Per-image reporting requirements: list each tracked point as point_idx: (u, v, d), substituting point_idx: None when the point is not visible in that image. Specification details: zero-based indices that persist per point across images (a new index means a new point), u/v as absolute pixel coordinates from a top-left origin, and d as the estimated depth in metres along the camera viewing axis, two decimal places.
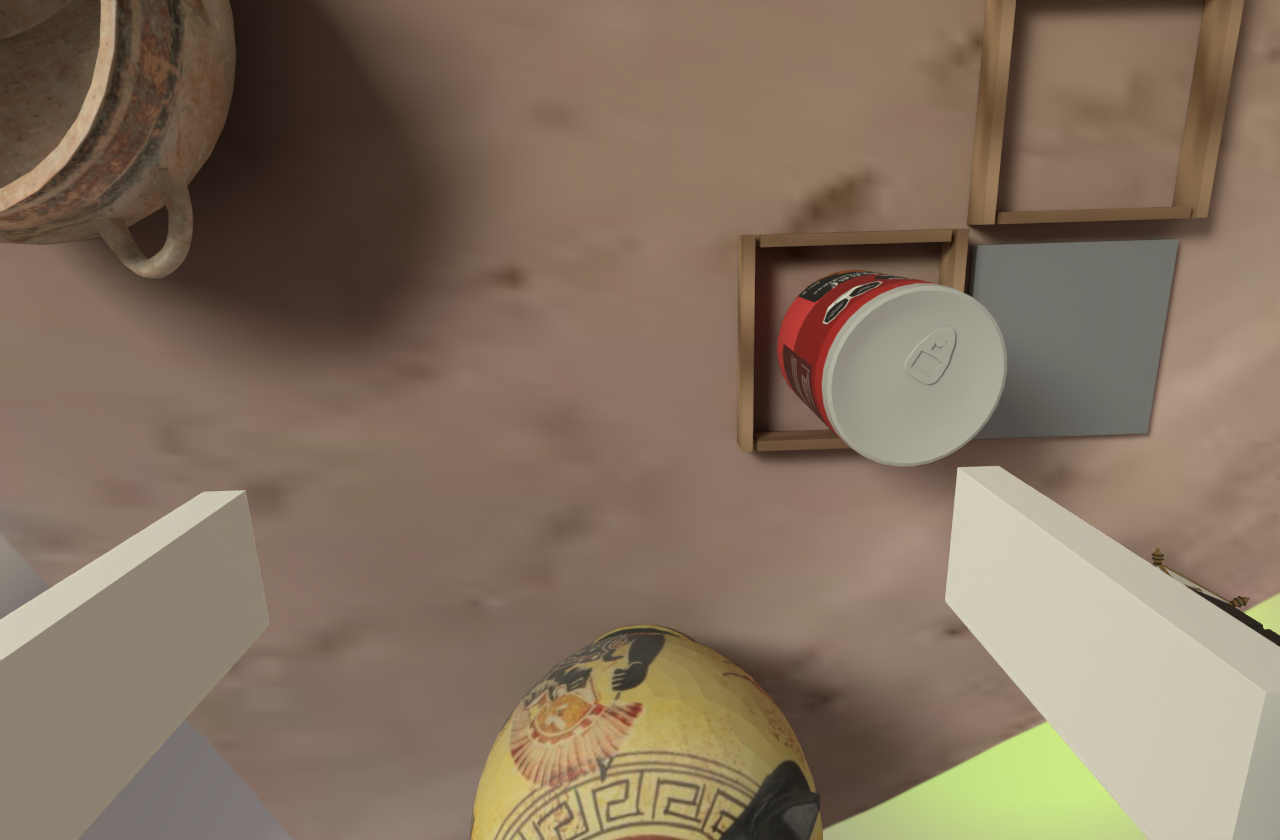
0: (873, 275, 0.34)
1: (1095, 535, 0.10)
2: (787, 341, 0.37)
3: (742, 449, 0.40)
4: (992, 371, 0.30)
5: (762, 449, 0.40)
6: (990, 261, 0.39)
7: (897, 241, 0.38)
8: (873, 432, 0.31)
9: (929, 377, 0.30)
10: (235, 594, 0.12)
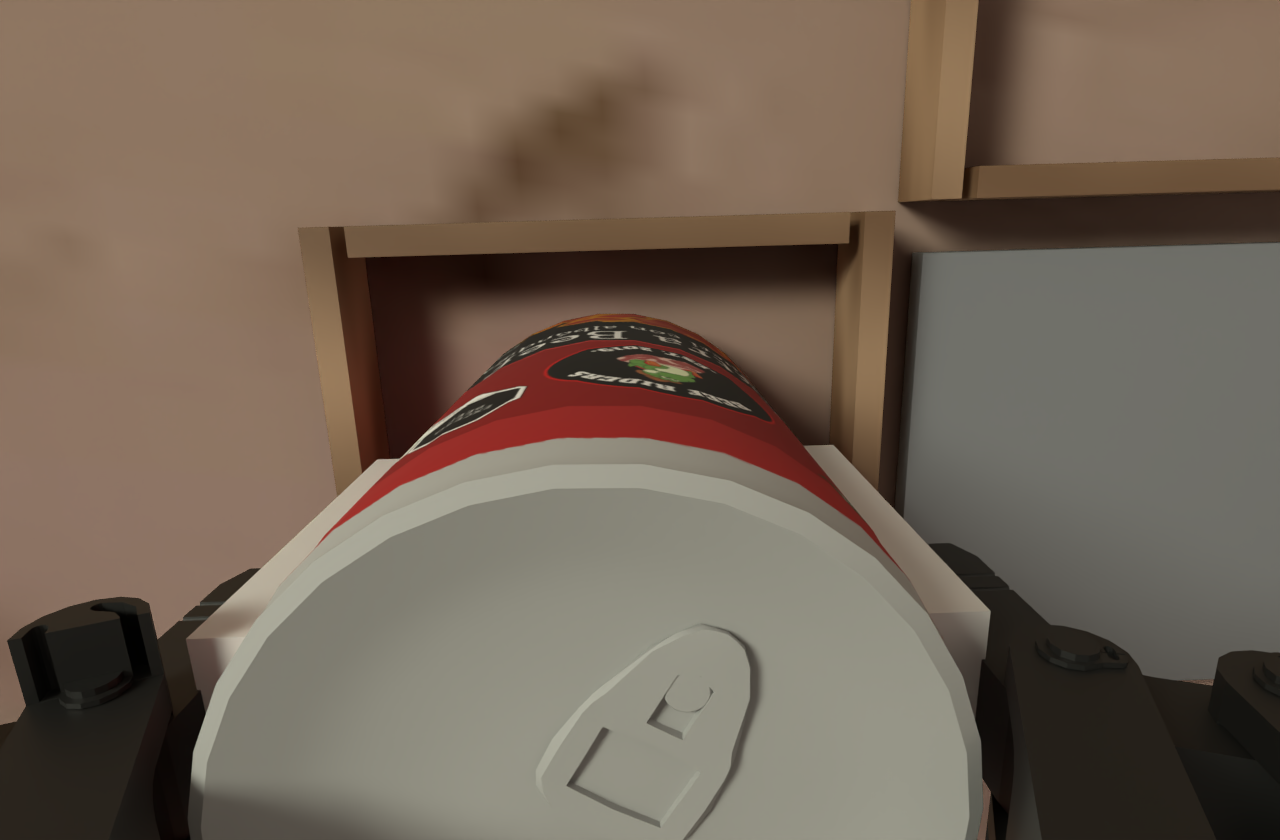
0: (582, 347, 0.11)
1: (876, 500, 0.12)
2: None
3: None
4: (920, 809, 0.07)
5: None
6: (954, 293, 0.16)
7: (707, 243, 0.14)
8: None
9: (651, 824, 0.07)
10: None
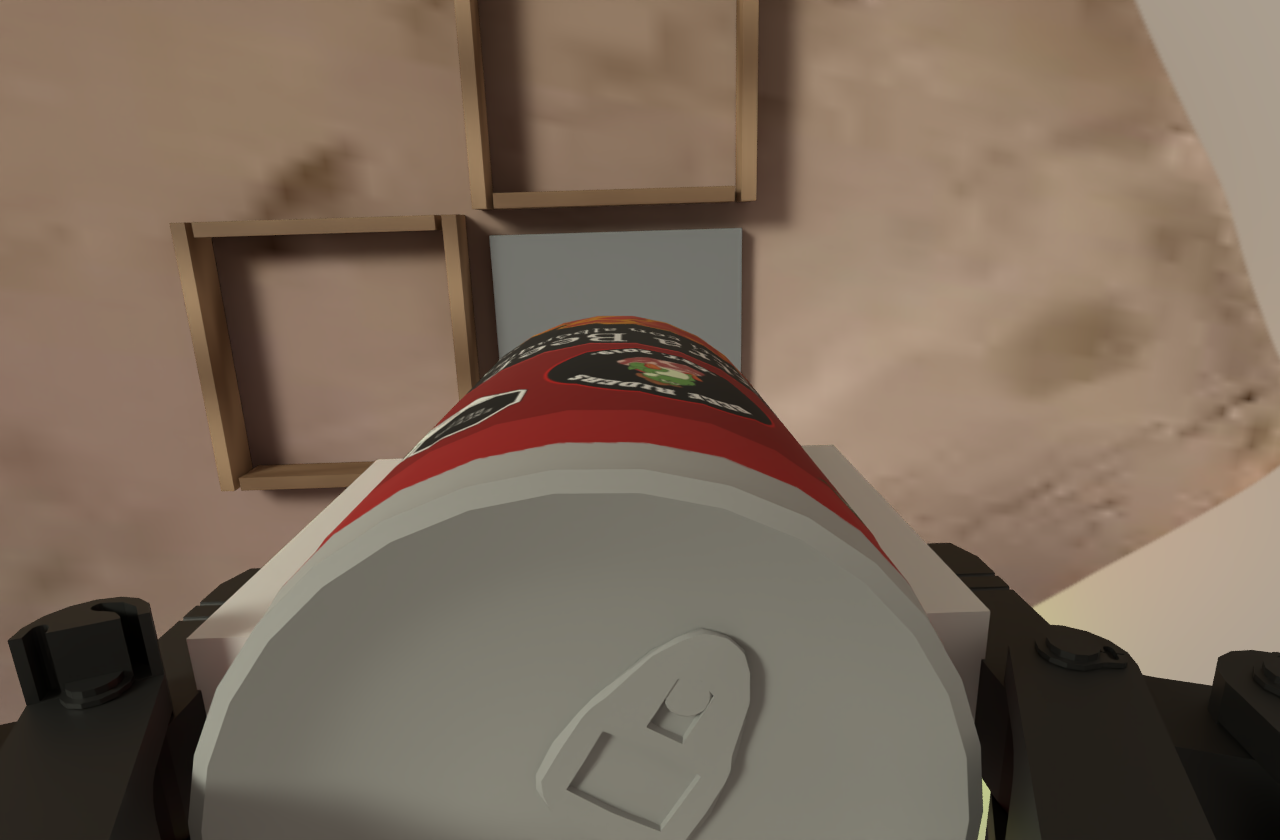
0: (582, 349, 0.11)
1: (875, 499, 0.12)
2: None
3: (222, 488, 0.33)
4: (919, 813, 0.07)
5: (246, 488, 0.33)
6: (508, 256, 0.31)
7: (367, 230, 0.30)
8: None
9: (650, 828, 0.07)
10: None
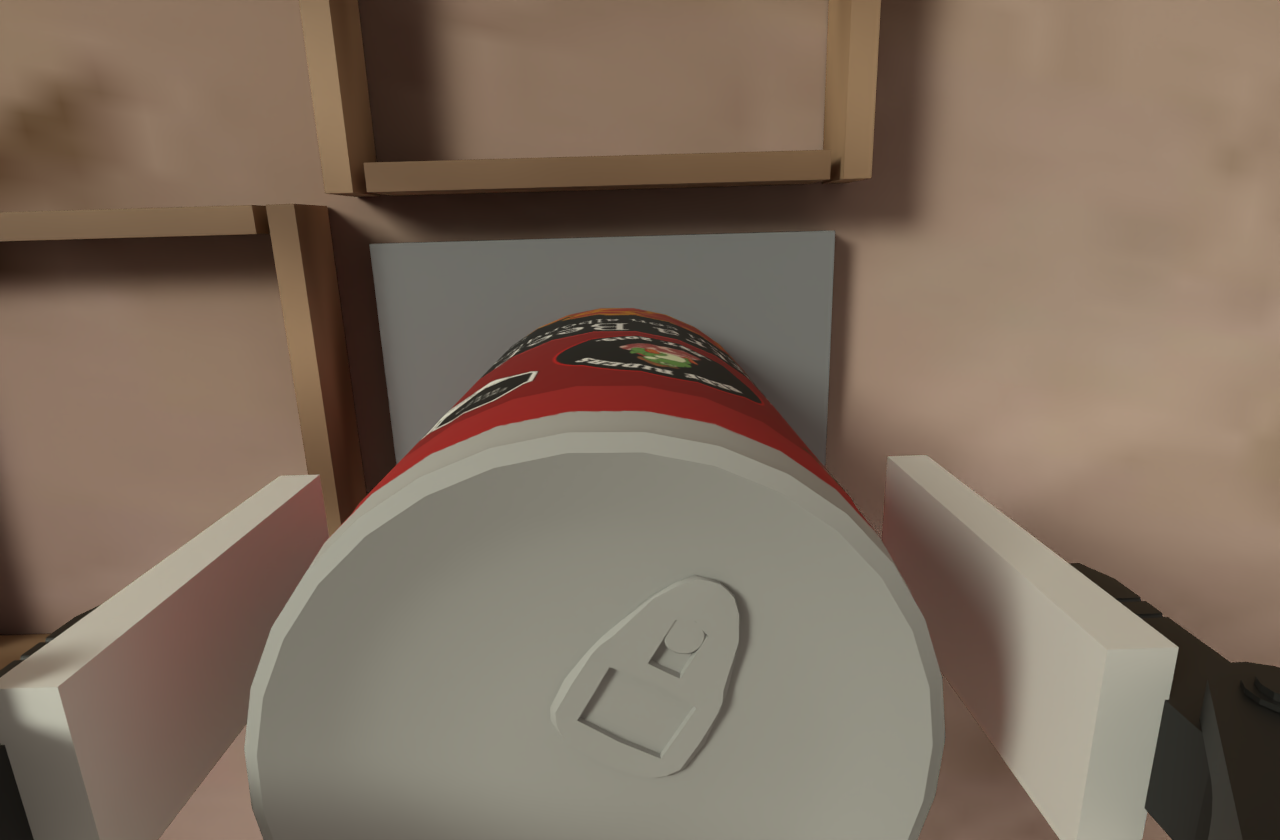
0: (587, 337, 0.12)
1: (997, 516, 0.11)
2: None
3: None
4: (890, 740, 0.08)
5: None
6: (406, 281, 0.17)
7: (125, 234, 0.16)
8: None
9: (652, 755, 0.08)
10: None
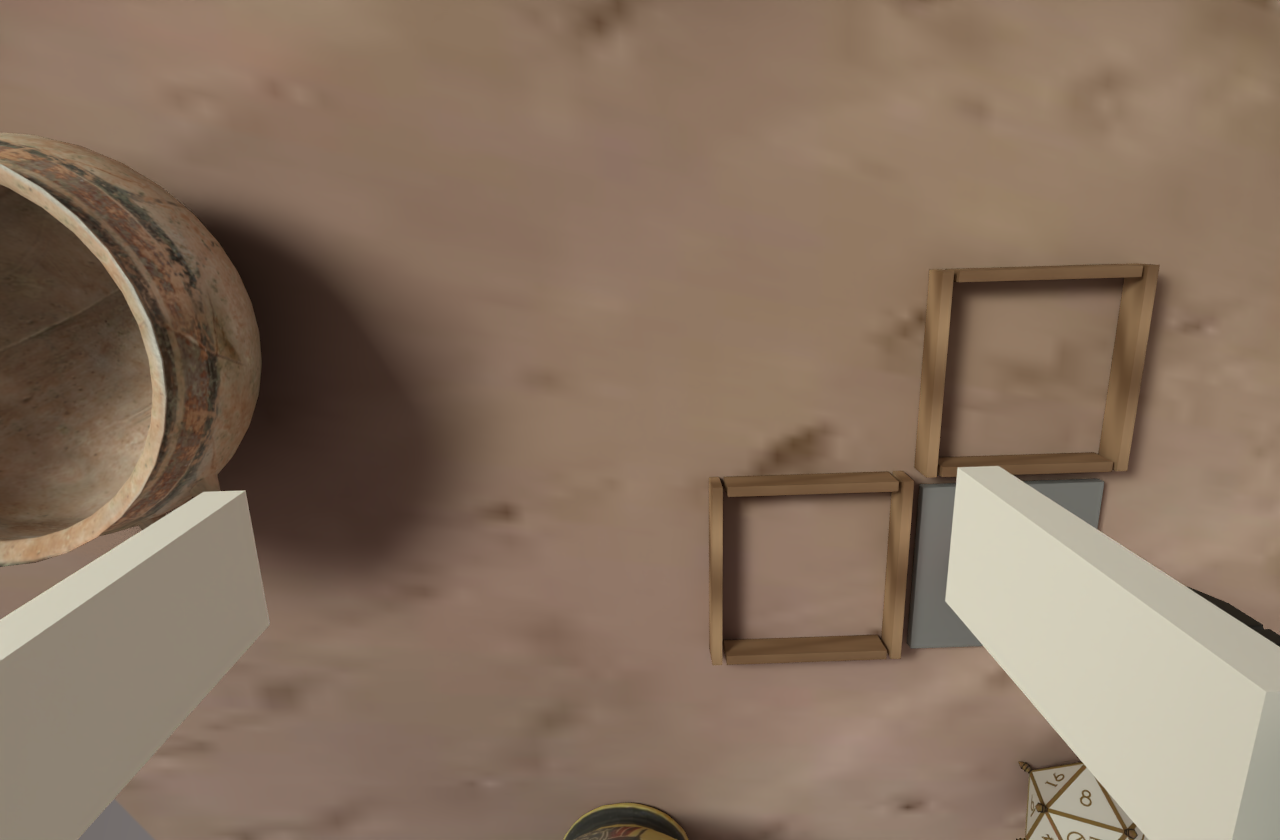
0: None
1: (1095, 535, 0.10)
2: None
3: (713, 662, 0.45)
4: None
5: (731, 663, 0.45)
6: (934, 501, 0.44)
7: (850, 491, 0.42)
8: None
9: None
10: (235, 594, 0.12)
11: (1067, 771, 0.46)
